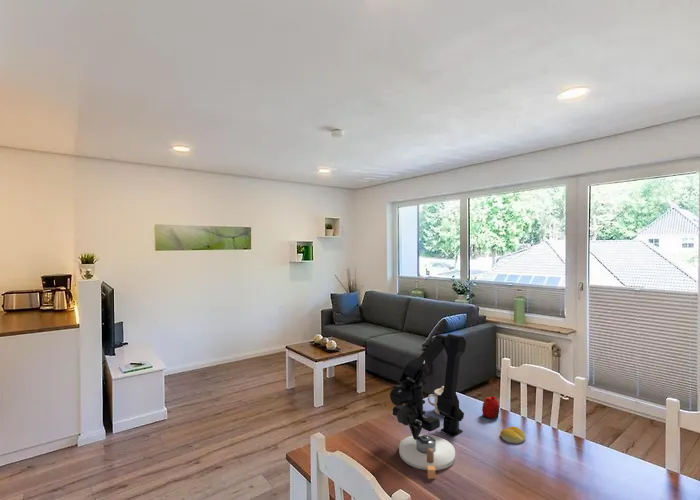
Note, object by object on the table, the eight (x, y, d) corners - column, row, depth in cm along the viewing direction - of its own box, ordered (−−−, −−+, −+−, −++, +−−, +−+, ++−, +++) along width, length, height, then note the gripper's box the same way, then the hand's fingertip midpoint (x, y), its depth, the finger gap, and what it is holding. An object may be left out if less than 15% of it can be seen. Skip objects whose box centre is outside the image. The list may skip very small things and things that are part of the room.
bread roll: (496, 437, 148) (496, 427, 148) (511, 431, 153) (511, 421, 153) (515, 447, 141) (514, 436, 141) (529, 440, 146) (529, 430, 145)
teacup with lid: (455, 408, 173) (454, 384, 173) (453, 417, 165) (453, 391, 165) (429, 405, 178) (428, 381, 177) (426, 413, 169) (425, 388, 169)
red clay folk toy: (489, 411, 170) (489, 379, 170) (503, 417, 164) (503, 383, 164) (478, 416, 166) (478, 382, 166) (492, 422, 160) (492, 387, 160)
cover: (415, 443, 140) (415, 432, 140) (434, 443, 139) (434, 432, 139) (417, 453, 133) (417, 442, 133) (437, 454, 132) (437, 442, 132)
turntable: (397, 439, 147) (397, 424, 147) (449, 439, 146) (448, 424, 145) (401, 469, 127) (401, 452, 127) (461, 471, 126) (460, 453, 125)
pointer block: (427, 474, 125) (427, 465, 125) (434, 474, 125) (434, 465, 125) (428, 478, 123) (428, 469, 123) (435, 478, 122) (435, 469, 122)
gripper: (382, 396, 142) (382, 437, 142) (421, 413, 127) (421, 458, 128) (401, 388, 149) (402, 427, 149) (440, 403, 135) (441, 446, 135)
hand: (415, 439), depth 140 cm, fingers closed
